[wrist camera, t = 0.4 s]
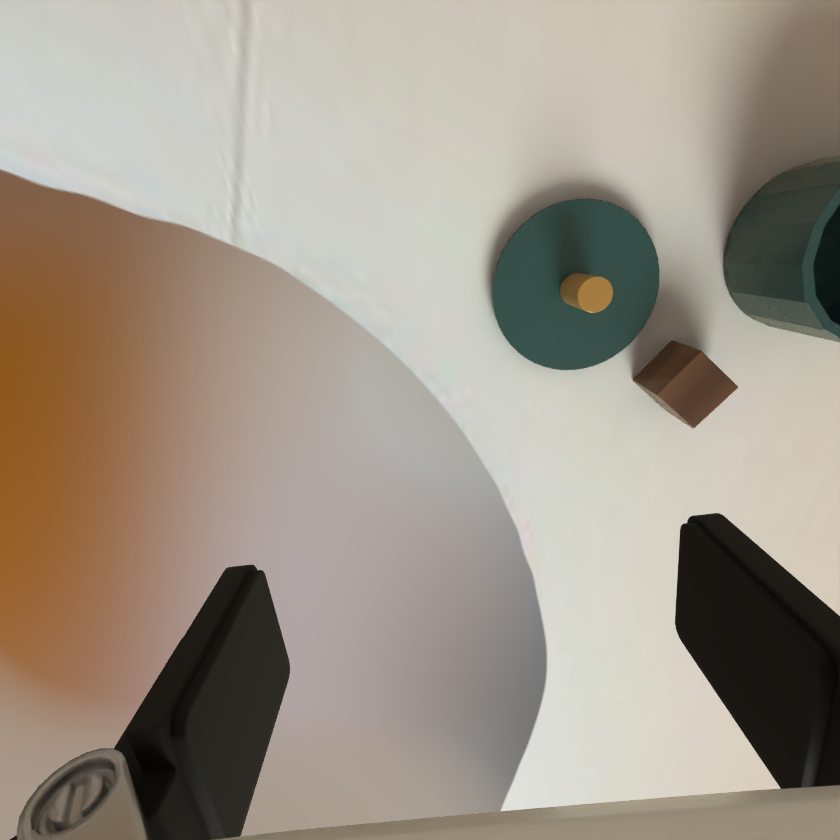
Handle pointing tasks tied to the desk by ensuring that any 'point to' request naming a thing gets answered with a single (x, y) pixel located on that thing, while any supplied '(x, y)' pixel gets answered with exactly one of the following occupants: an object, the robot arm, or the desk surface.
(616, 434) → the desk surface
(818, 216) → the tin
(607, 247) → the lid
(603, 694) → the desk surface
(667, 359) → the block
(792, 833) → the robot arm
